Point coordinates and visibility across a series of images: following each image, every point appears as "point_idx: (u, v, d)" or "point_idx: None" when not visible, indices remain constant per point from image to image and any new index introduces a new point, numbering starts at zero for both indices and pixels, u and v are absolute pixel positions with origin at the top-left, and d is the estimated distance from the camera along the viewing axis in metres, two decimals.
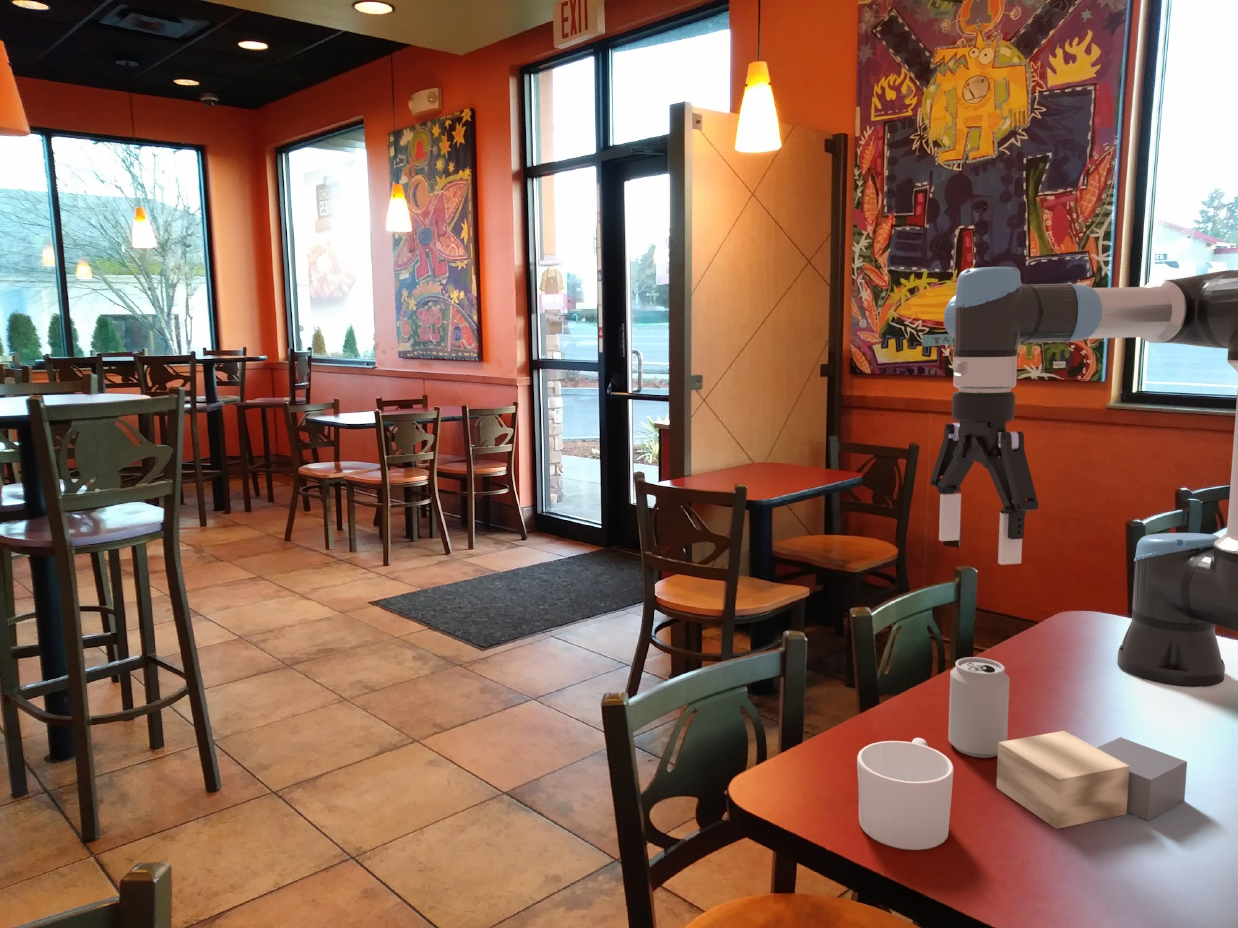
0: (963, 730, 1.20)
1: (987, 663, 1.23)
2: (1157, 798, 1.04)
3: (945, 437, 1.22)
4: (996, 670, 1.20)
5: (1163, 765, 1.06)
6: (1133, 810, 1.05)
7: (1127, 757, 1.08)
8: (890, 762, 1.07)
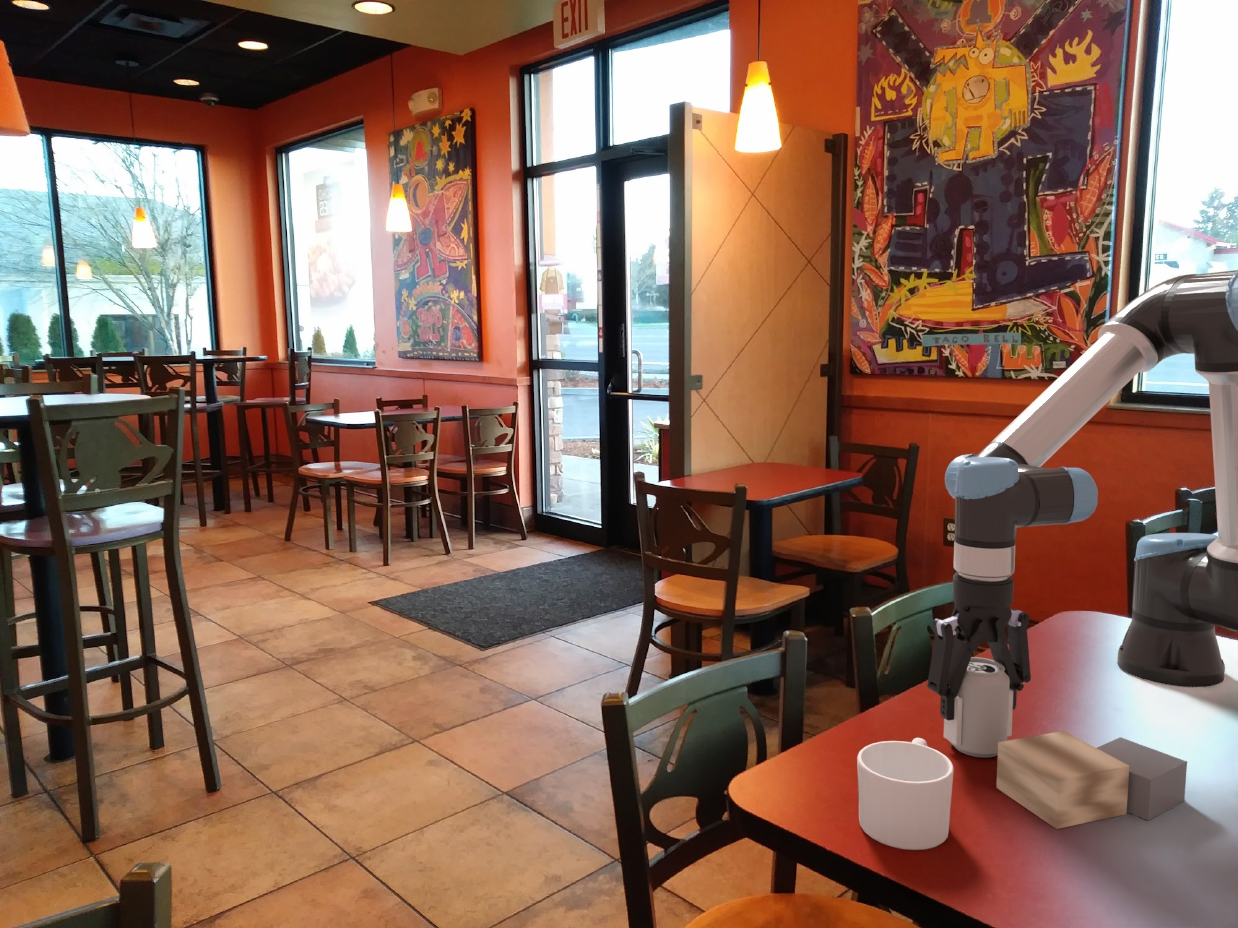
0: (963, 730, 1.20)
1: (988, 662, 1.23)
2: (1157, 798, 1.04)
3: None
4: (996, 670, 1.20)
5: (1163, 765, 1.06)
6: (1133, 810, 1.05)
7: (1127, 757, 1.08)
8: (890, 762, 1.07)
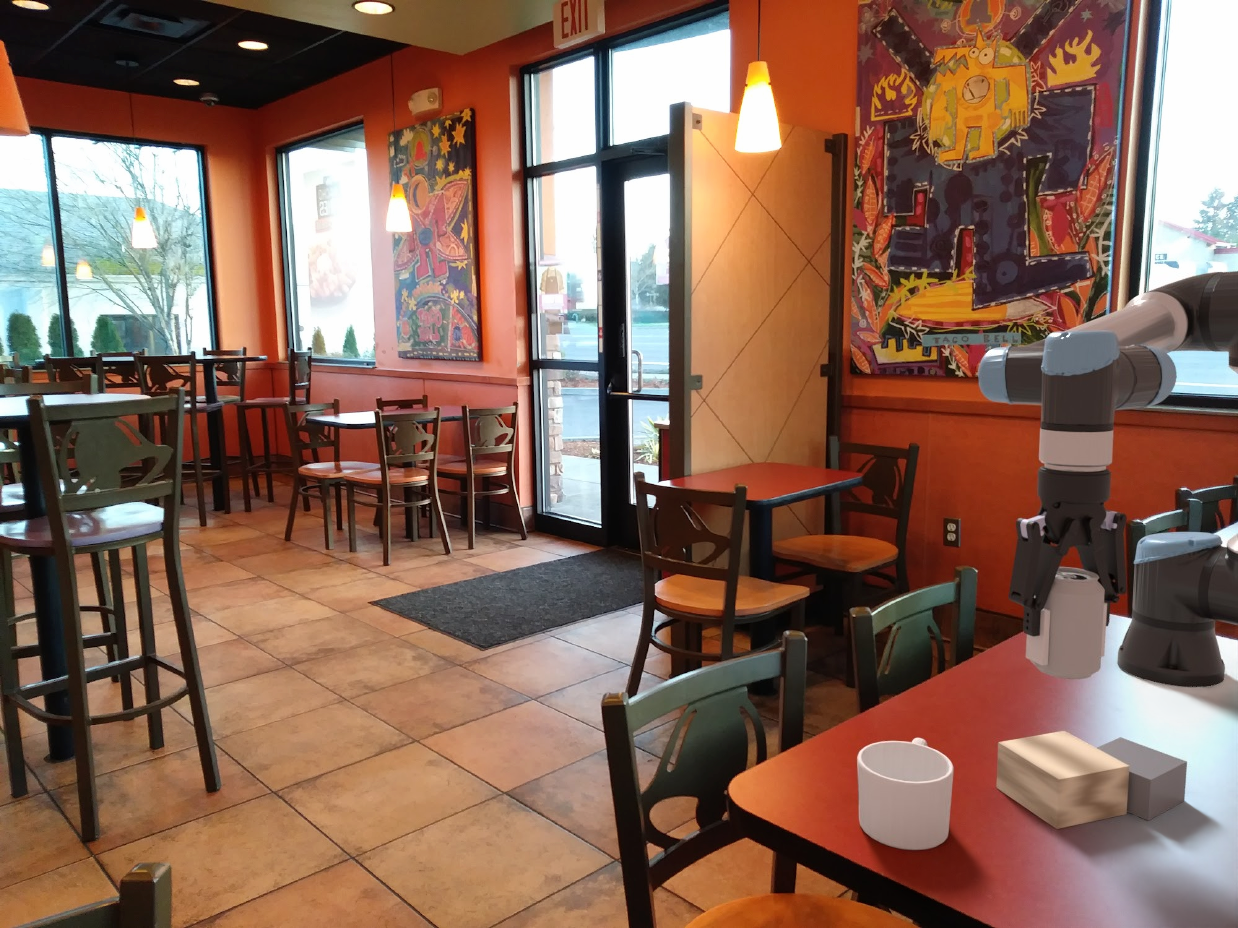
0: (1050, 647, 1.03)
1: (1076, 572, 1.06)
2: (1157, 798, 1.04)
3: None
4: (1088, 579, 1.04)
5: (1163, 765, 1.06)
6: (1133, 810, 1.05)
7: (1127, 757, 1.08)
8: (890, 762, 1.07)
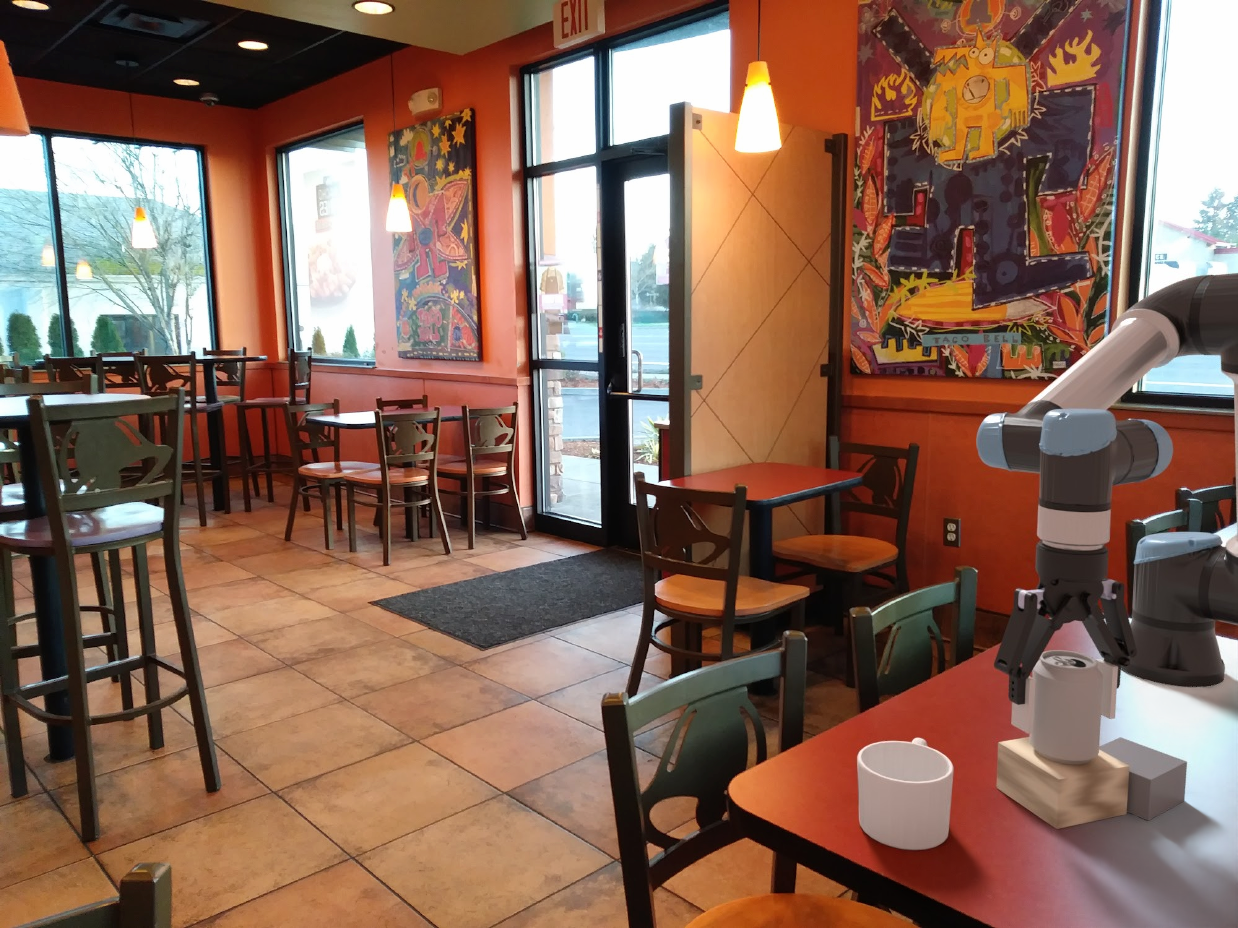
0: (1050, 733, 1.05)
1: (1075, 656, 1.08)
2: (1157, 798, 1.04)
3: None
4: (1087, 665, 1.05)
5: (1163, 765, 1.06)
6: (1133, 810, 1.05)
7: (1127, 757, 1.08)
8: (890, 762, 1.07)
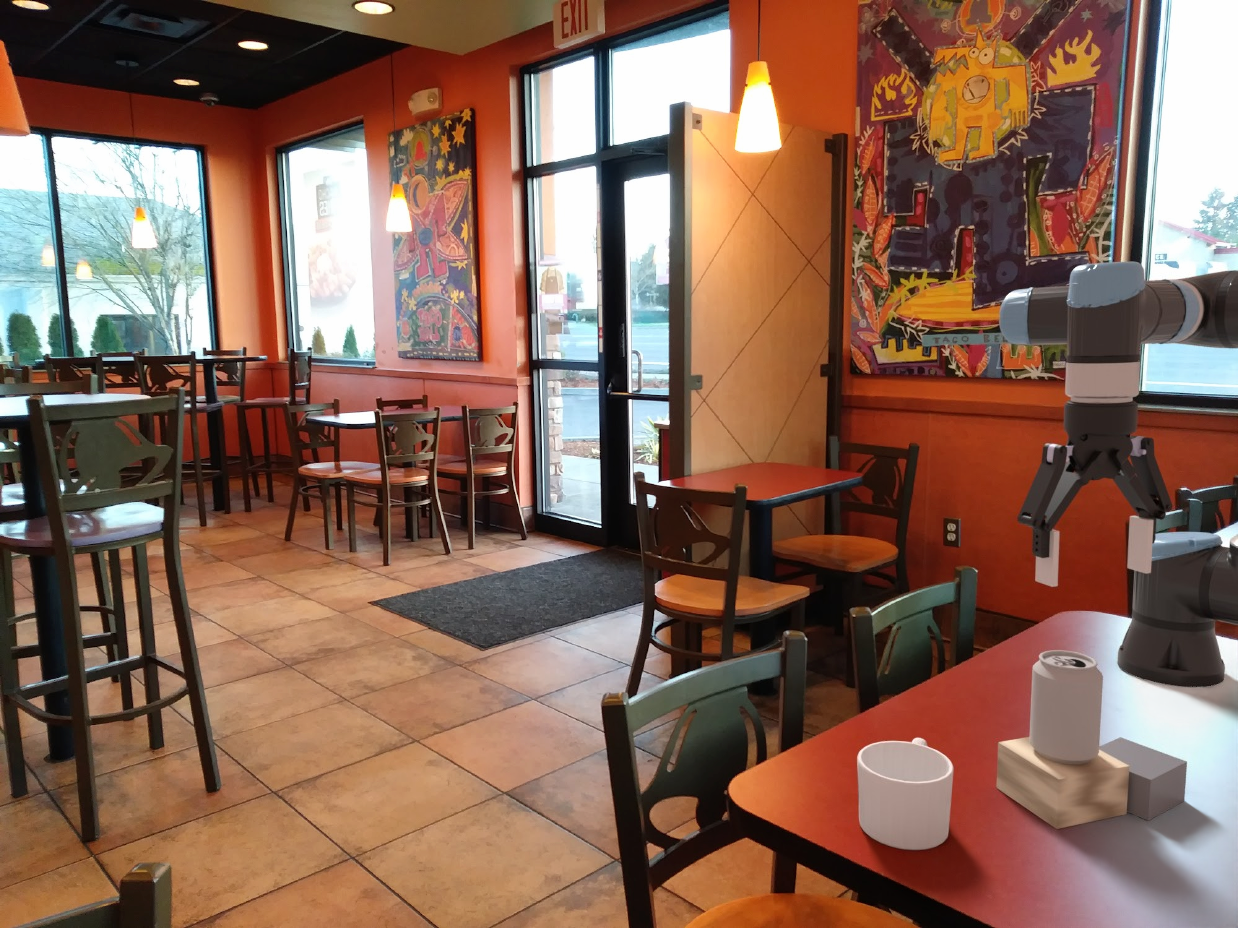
0: (1050, 733, 1.05)
1: (1075, 656, 1.08)
2: (1157, 798, 1.04)
3: None
4: (1087, 665, 1.05)
5: (1163, 765, 1.06)
6: (1133, 810, 1.05)
7: (1127, 757, 1.08)
8: (890, 762, 1.07)
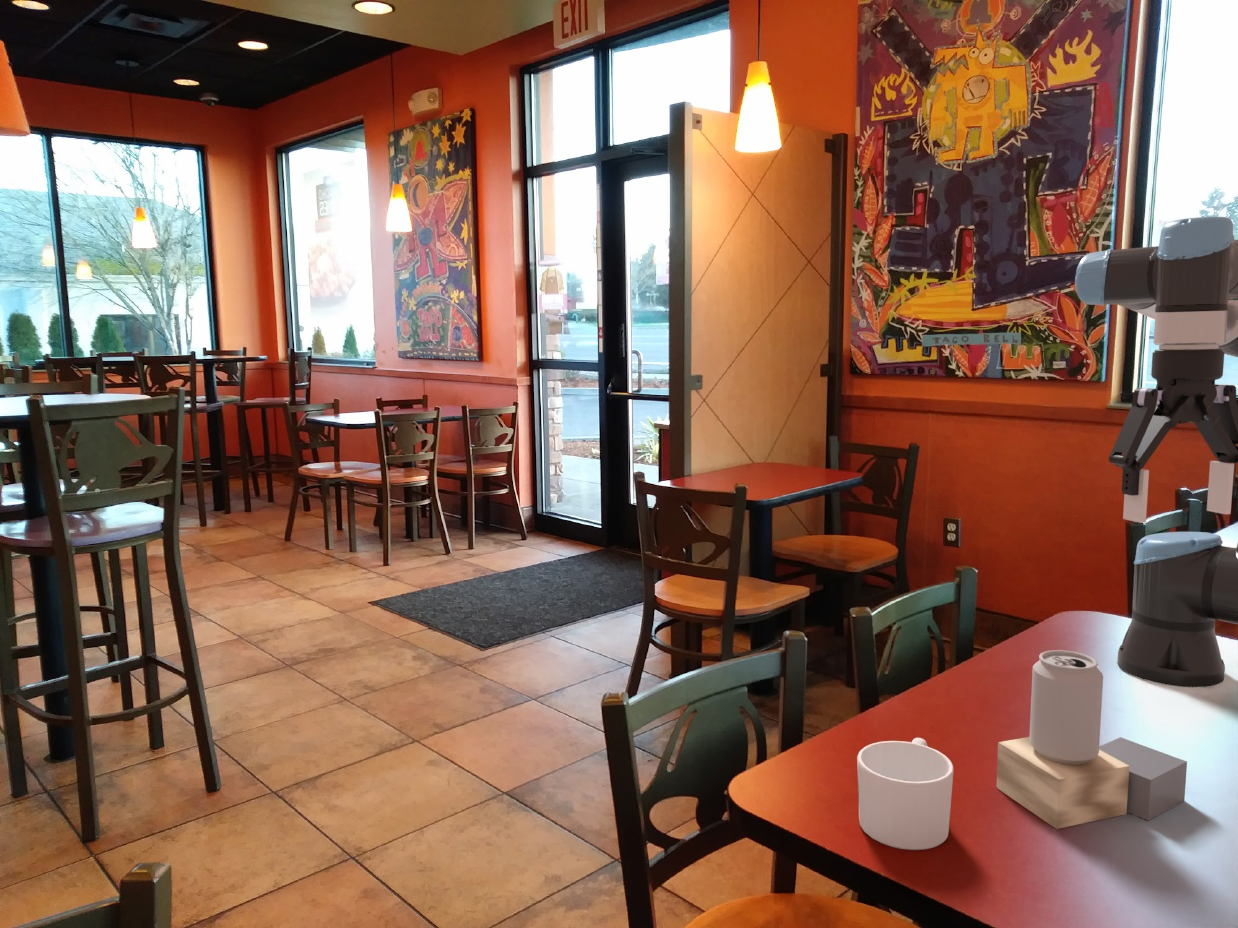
0: (1050, 733, 1.05)
1: (1075, 656, 1.08)
2: (1157, 798, 1.04)
3: None
4: (1087, 665, 1.05)
5: (1163, 765, 1.06)
6: (1133, 810, 1.05)
7: (1127, 757, 1.08)
8: (890, 762, 1.07)
